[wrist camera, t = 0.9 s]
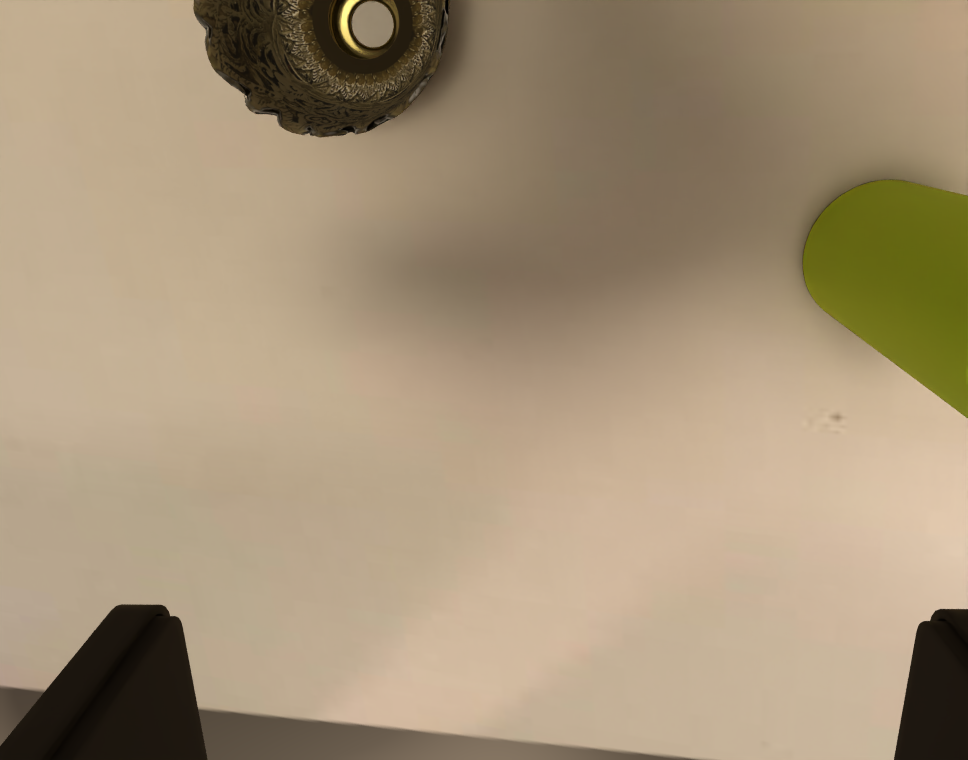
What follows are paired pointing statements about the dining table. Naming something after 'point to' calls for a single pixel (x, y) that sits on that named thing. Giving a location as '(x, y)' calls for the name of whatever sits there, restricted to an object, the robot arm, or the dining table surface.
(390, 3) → the dark brown rounded piece
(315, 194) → the dining table surface
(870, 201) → the soap dispenser
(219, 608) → the dining table surface
